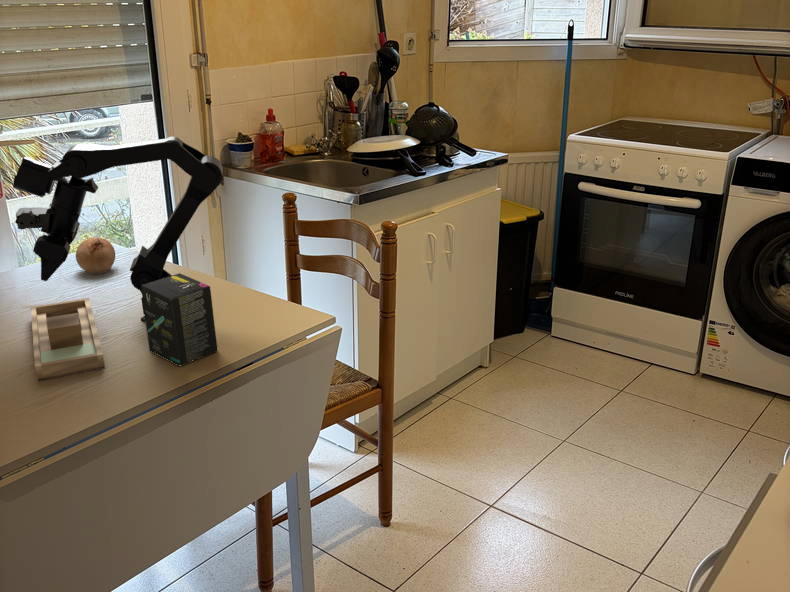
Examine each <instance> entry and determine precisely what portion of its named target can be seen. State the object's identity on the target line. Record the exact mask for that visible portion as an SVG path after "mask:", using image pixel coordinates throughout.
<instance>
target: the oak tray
mask: <svg viewBox="0 0 790 592" xmlns="http://www.w3.org/2000/svg"><path fill="white" fill-rule="evenodd" d="M73 313H78V317H79V322H80V327H81V333H82V339H83V344H89V343H94V345H95V349H96V353H94V354H89V355H83V356H78V357H72V358H67V359H61V360H56V361H50V362H45V363H41V353H40V352H43V351H49V350H51V346H50V341H49V335H48V330H47V322H46V318H49V317H55V316H61V315H67V314H73ZM93 313H94V312H93V308H92V305H91V301H90V298H89V297H87V298H79V299H72V300H65V301H60V302H54V303H47V304H42V305H41V304H39V305H34V306H30V315H31V316H30V317H31V328H32V329H31V330H32V343H33V356H34V357H33V358H34V368H35V372H36V377H37V381H43V380H44V381H45V380H48V379H53V378H61V377H65V376H71V375H77V374H81V373H86V372H85V371H87V372H90V371H91V370H92V371H96V370H102V369H105V368H106V367H105V360H104V359H105V358H104V353H103V349H102V346H101V341H100V337H99V334H98V333H99V332H98V330H97V326H96V322H95V317H94V314H93Z"/></svg>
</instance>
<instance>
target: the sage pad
mask: <svg viewBox="0 0 790 592" xmlns="http://www.w3.org/2000/svg"><path fill="white" fill-rule="evenodd" d="M40 353H41V363H45V362H50V361H56V360H61V359H67V358H72V357H78V356H83V355H89V354H94V353H96V349H95V345H94V343H89V344H83V345H77V346H72V347H66V348H60V349H55V350H49V351H43V352H40Z"/></svg>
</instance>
